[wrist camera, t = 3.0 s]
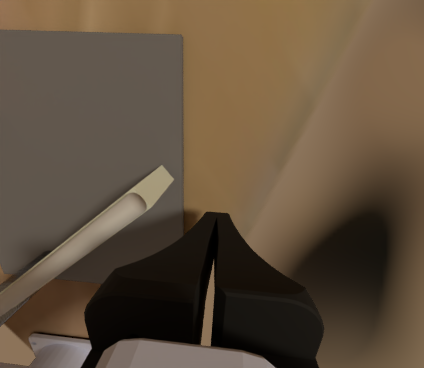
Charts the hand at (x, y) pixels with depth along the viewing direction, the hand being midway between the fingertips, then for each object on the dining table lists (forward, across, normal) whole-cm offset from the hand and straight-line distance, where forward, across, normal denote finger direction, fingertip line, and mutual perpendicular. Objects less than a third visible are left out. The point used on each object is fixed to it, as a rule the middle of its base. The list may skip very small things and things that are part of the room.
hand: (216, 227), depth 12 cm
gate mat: (+3, +10, -1) cm, 11 cm away
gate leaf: (+2, +8, +1) cm, 8 cm away
